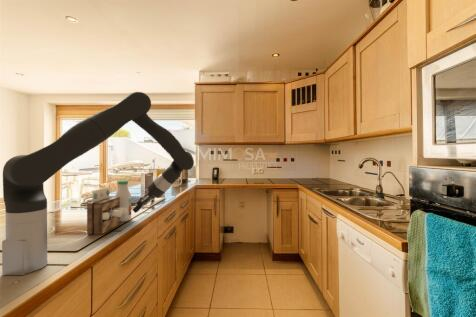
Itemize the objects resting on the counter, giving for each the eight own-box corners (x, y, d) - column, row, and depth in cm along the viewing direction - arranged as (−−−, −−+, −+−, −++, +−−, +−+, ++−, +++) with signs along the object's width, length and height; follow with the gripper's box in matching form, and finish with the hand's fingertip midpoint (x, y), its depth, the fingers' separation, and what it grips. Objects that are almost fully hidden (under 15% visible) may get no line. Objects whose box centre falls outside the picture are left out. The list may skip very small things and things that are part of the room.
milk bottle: (125, 222, 119) (125, 181, 119) (111, 221, 120) (111, 181, 120) (134, 218, 127) (134, 180, 126) (120, 217, 128) (120, 179, 127)
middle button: (118, 217, 107) (118, 210, 107) (107, 217, 107) (107, 210, 107) (122, 215, 110) (122, 209, 110) (111, 215, 110) (111, 209, 110)
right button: (124, 215, 112) (124, 208, 112) (113, 214, 112) (113, 208, 112) (127, 213, 115) (127, 207, 115) (116, 213, 115) (116, 206, 115)
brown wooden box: (100, 234, 101) (100, 203, 101) (87, 234, 102) (87, 203, 101) (119, 224, 116) (119, 197, 116) (107, 223, 117) (107, 196, 116)
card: (94, 202, 103) (94, 190, 103) (92, 202, 103) (92, 190, 103) (109, 197, 115) (109, 186, 115) (108, 197, 115) (108, 186, 115)
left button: (105, 220, 102) (105, 213, 102) (94, 220, 103) (94, 213, 103) (109, 218, 105) (109, 211, 105) (98, 218, 106) (98, 211, 106)
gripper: (159, 178, 119) (135, 202, 120) (149, 181, 106) (121, 208, 107) (170, 189, 119) (145, 213, 120) (161, 193, 106) (133, 220, 107)
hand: (134, 211), depth 113 cm, fingers closed
